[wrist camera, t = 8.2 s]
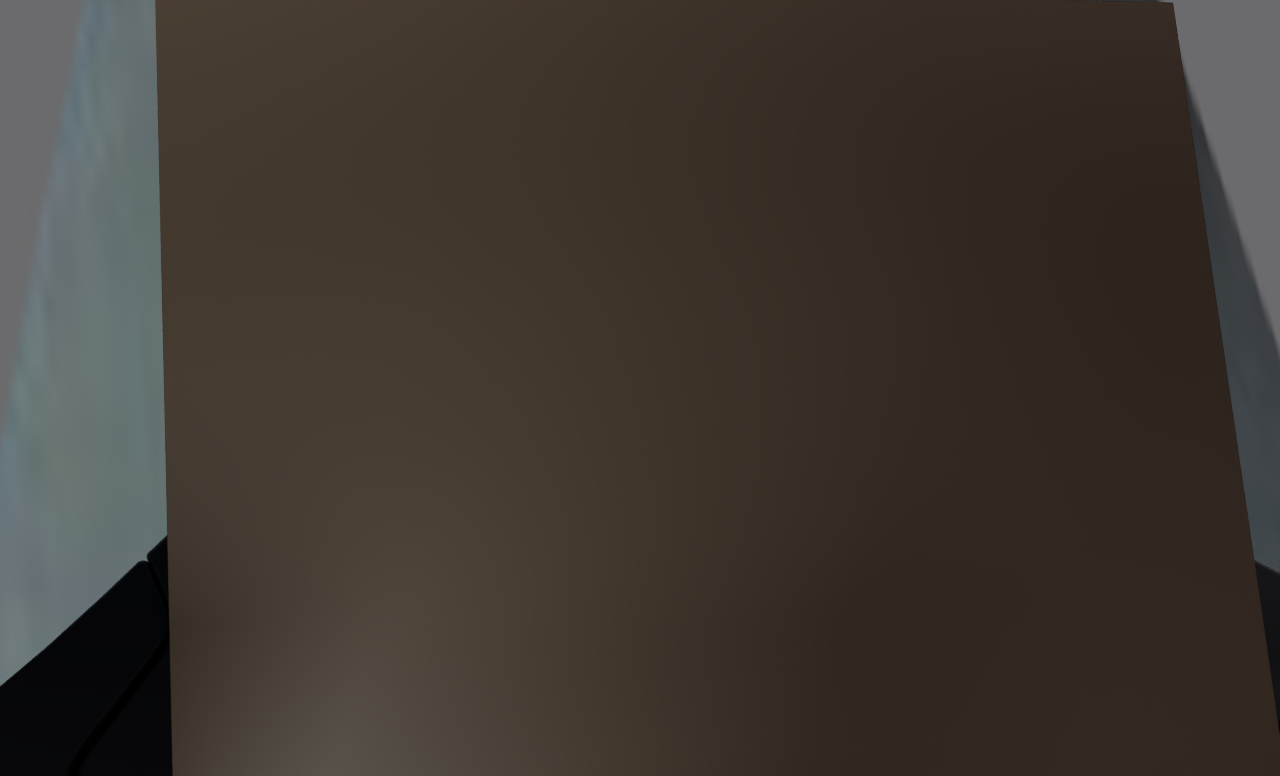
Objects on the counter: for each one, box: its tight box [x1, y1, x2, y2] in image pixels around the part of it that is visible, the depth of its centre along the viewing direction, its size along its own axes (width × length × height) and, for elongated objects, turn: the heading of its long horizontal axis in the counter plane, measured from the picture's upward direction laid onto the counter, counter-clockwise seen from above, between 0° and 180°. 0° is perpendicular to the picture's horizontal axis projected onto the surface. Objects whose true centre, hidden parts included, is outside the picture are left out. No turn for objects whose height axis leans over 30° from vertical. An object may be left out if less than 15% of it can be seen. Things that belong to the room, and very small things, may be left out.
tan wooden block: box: [155, 0, 1280, 776], centre depth 9 cm, size 4×4×12 cm
